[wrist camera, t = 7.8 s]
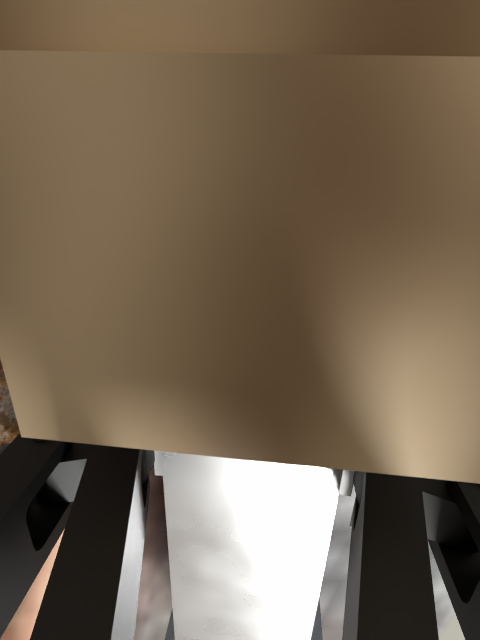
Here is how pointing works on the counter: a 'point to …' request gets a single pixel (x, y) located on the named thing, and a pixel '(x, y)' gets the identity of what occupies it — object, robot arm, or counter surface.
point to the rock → (6, 414)
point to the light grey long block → (246, 545)
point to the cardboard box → (245, 229)
